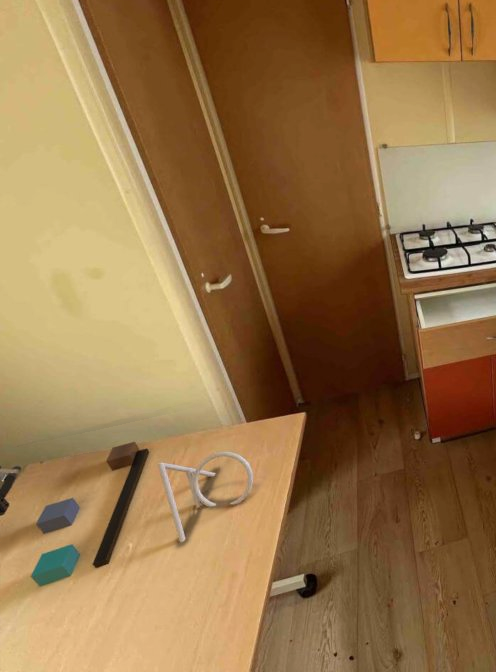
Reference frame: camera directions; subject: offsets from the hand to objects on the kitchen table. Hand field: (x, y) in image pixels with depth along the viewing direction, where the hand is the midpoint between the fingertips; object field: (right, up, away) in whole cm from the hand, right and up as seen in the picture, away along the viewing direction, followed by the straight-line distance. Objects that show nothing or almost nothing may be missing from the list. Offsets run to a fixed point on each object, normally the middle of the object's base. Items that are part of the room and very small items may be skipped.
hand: (0, 512), depth 85 cm
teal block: (+16, -10, -3) cm, 19 cm away
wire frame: (+38, -4, +10) cm, 39 cm away
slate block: (+7, -6, +6) cm, 10 cm away
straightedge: (+17, -4, +10) cm, 20 cm away
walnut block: (+8, +2, +20) cm, 21 cm away
